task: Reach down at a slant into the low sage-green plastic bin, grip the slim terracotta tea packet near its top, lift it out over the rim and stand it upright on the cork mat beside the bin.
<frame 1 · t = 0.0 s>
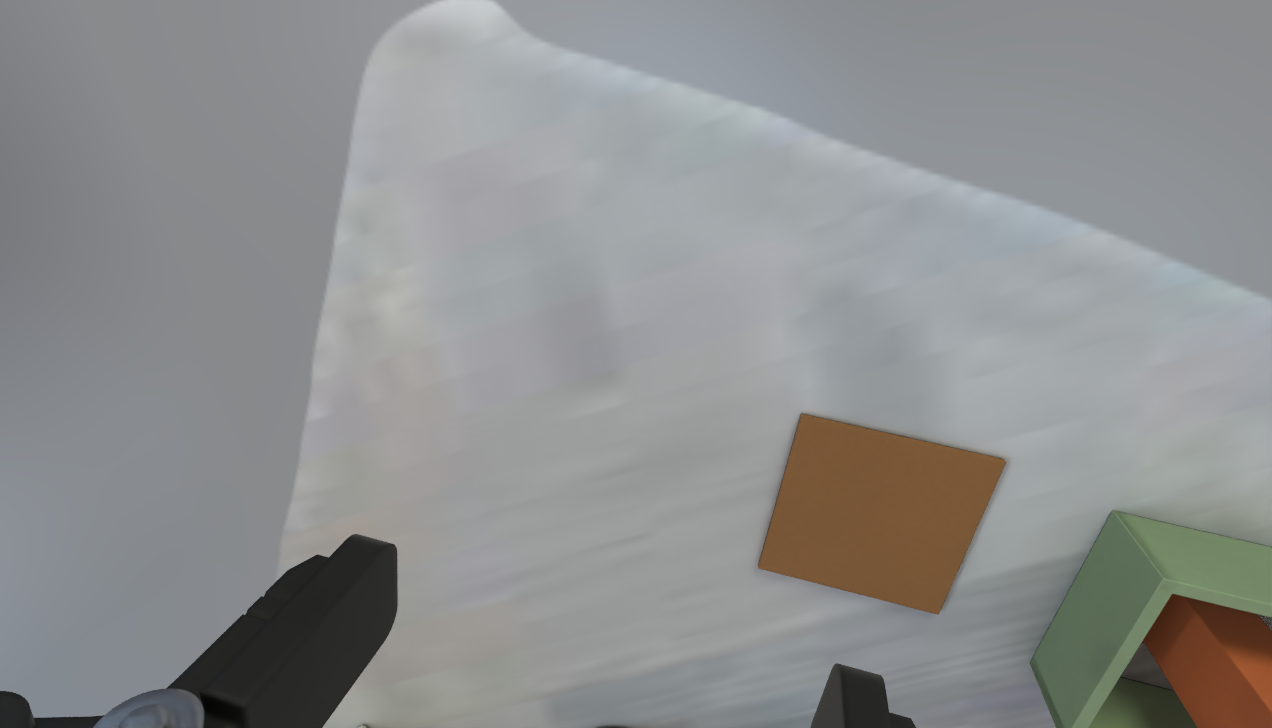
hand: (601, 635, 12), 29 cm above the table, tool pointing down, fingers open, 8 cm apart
tea packet: (1248, 696, 36), in the bin
cork mat: (871, 515, 43), on the table
bin: (1193, 622, 41), on the table
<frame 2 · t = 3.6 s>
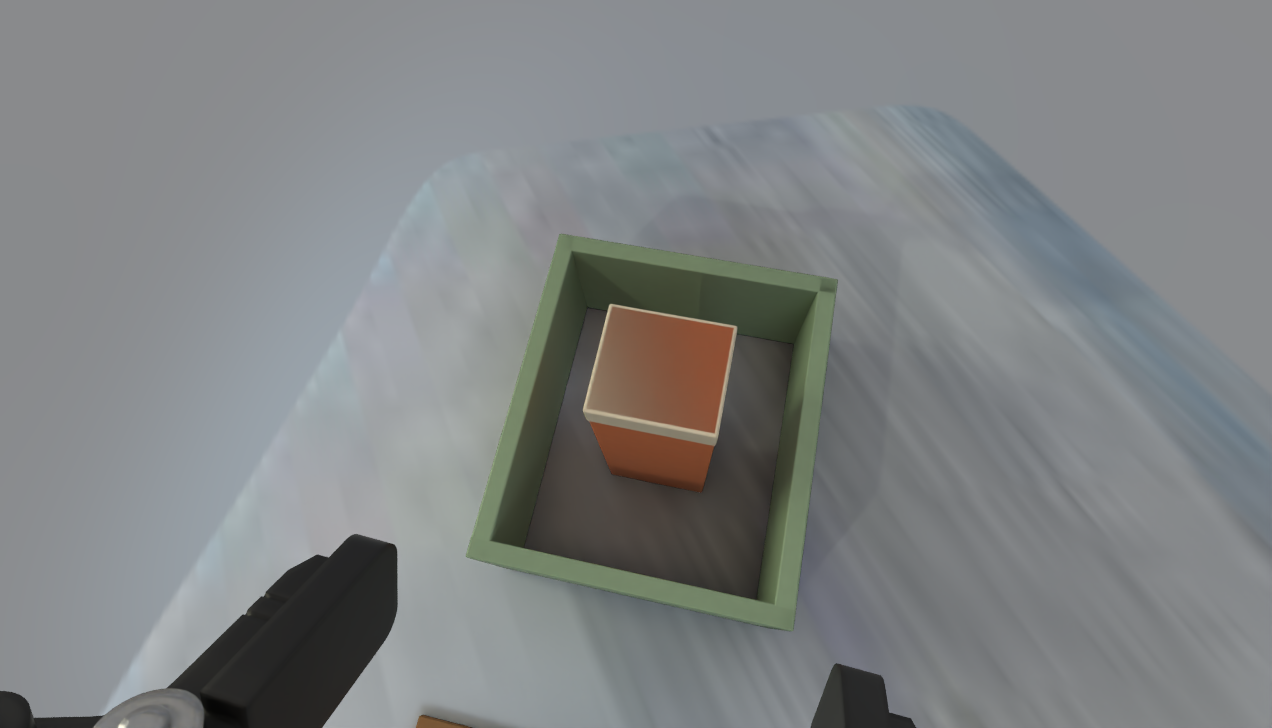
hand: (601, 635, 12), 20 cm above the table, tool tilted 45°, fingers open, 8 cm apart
tea packet: (663, 412, 28), in the bin
bin: (664, 444, 33), on the table
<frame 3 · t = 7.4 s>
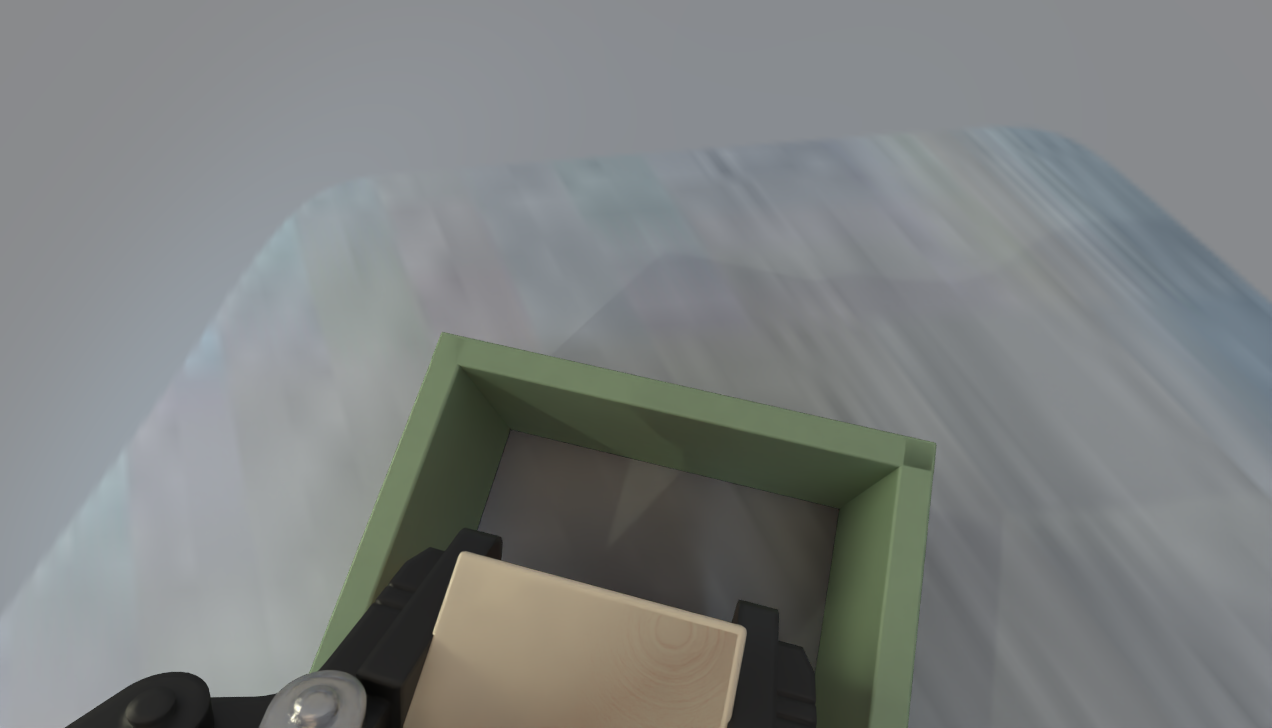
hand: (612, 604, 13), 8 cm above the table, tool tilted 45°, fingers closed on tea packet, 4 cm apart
tea packet: (599, 697, 15), in the bin, touching gripper
bin: (618, 680, 20), on the table
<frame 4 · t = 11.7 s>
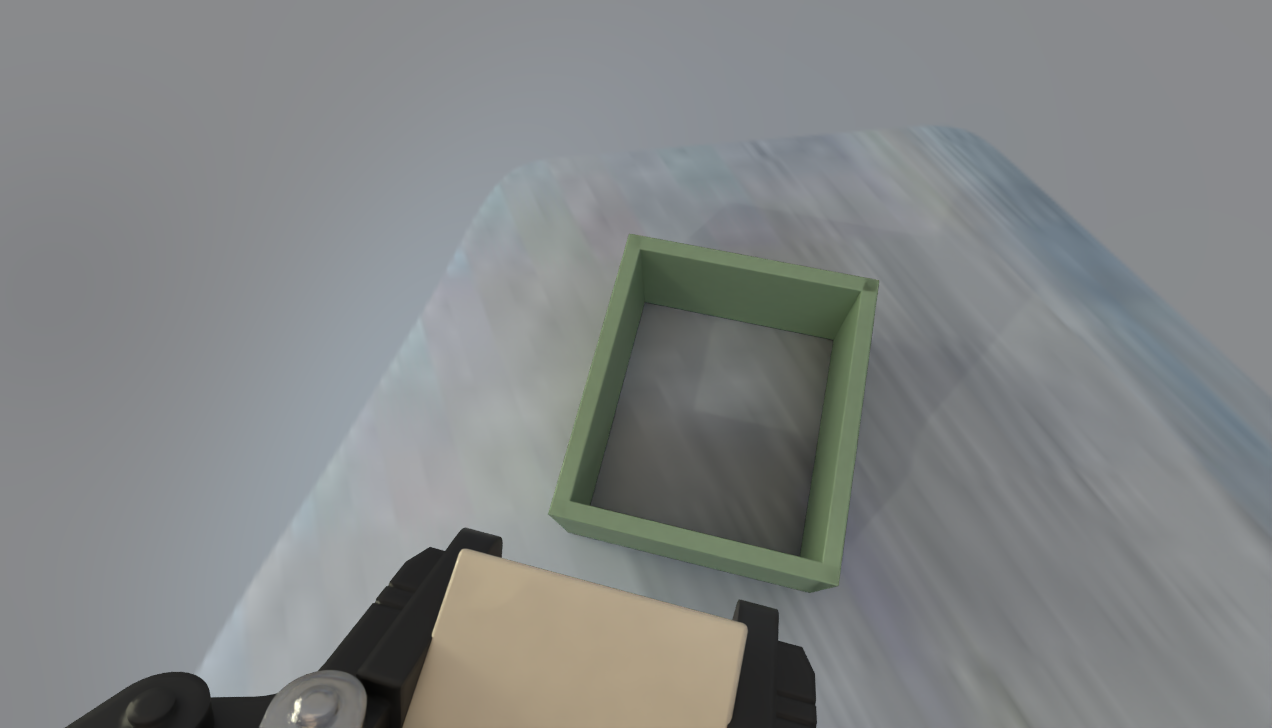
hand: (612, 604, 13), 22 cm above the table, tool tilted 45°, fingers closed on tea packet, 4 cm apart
tea packet: (599, 695, 15), point 19 cm above the table, touching gripper
bin: (714, 426, 37), on the table
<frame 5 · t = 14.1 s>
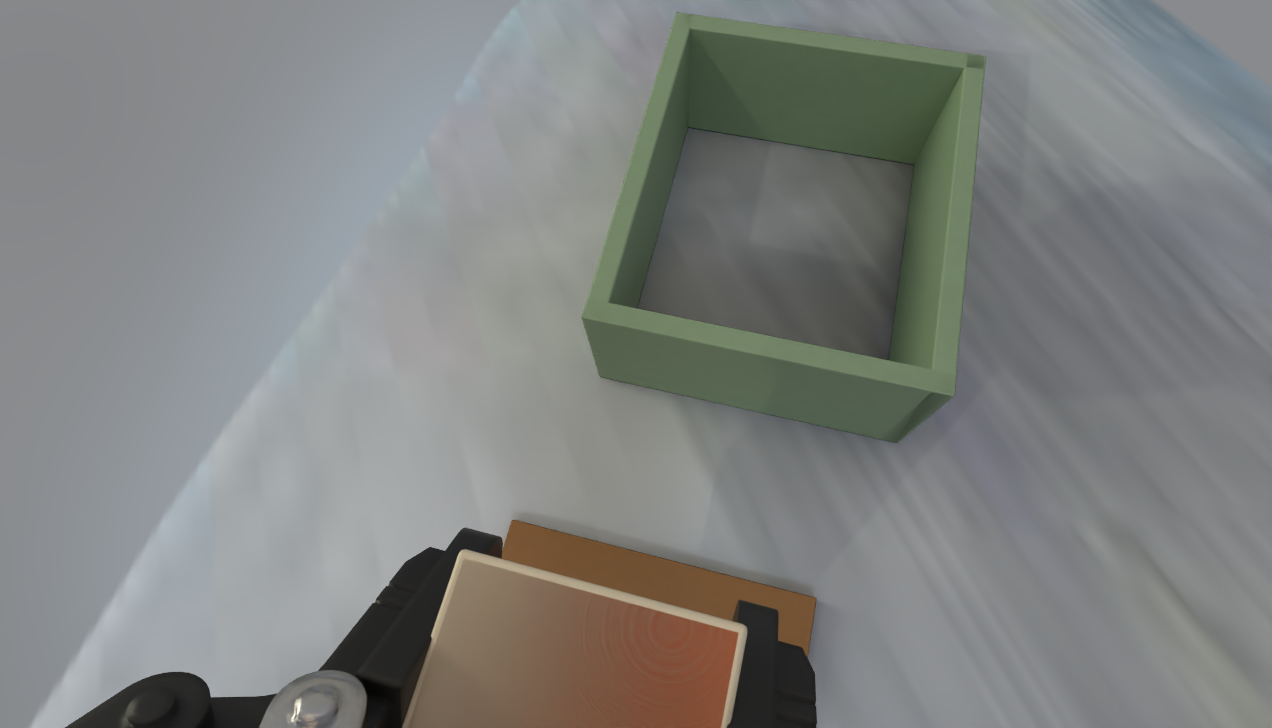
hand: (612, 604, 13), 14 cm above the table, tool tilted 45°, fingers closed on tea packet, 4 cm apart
tea packet: (599, 695, 15), point 11 cm above the table, touching gripper
cork mat: (620, 726, 24), on the table
bin: (774, 259, 31), on the table
when the fingers open (9 cm above the table, at t = 15.8 s): tea packet stays where it is, resting on cork mat.
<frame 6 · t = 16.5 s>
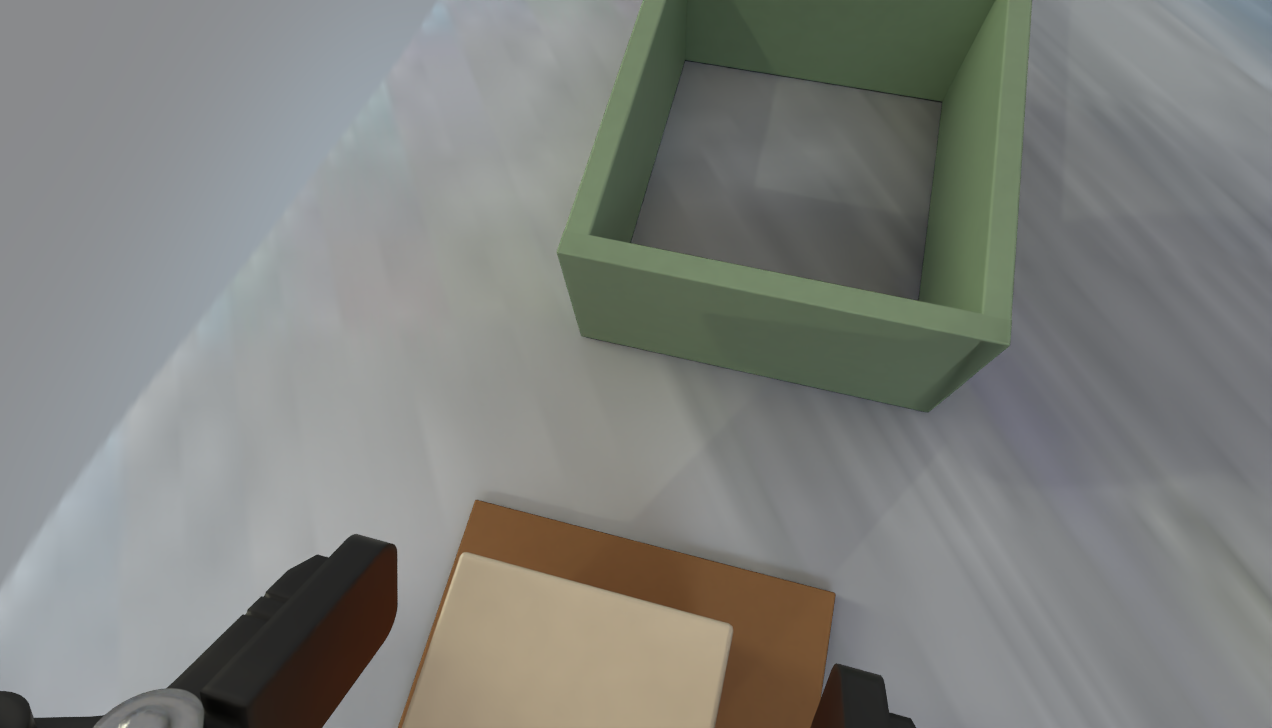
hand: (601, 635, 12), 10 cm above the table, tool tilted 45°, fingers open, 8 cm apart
tea packet: (593, 692, 15), on the cork mat
bin: (784, 205, 27), on the table
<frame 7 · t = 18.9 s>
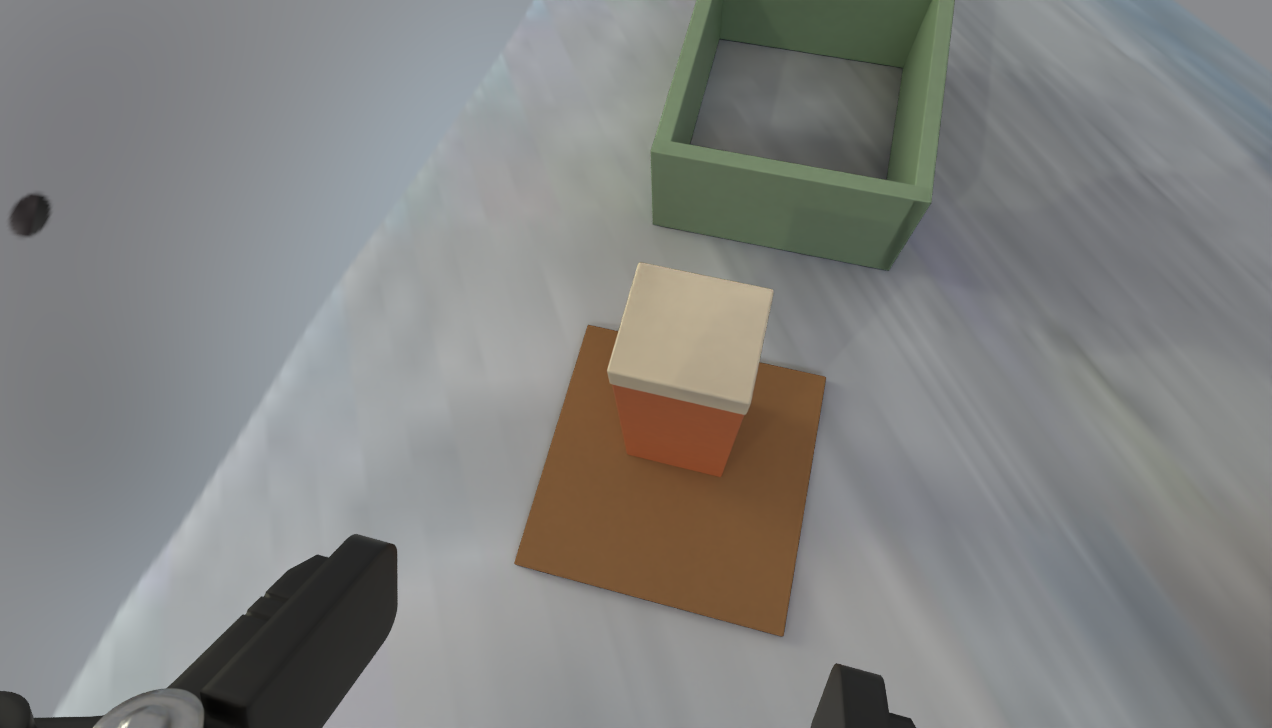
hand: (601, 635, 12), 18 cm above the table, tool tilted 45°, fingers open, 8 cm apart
tea packet: (686, 386, 27), on the cork mat
cork mat: (676, 468, 31), on the table
bin: (791, 138, 38), on the table
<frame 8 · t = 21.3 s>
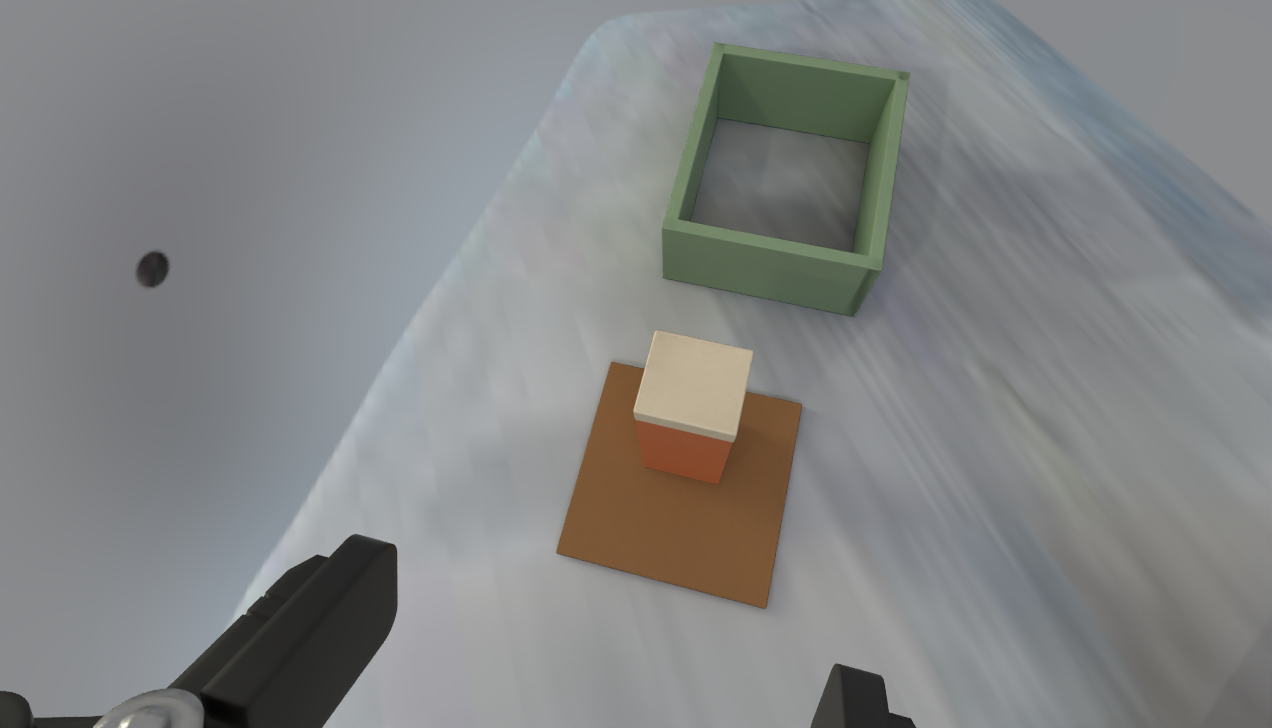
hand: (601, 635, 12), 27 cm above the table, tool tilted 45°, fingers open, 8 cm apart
tea packet: (690, 416, 35), on the cork mat
cork mat: (682, 477, 40), on the table
bin: (776, 204, 46), on the table
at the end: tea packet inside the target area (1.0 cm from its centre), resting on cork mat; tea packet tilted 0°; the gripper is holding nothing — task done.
